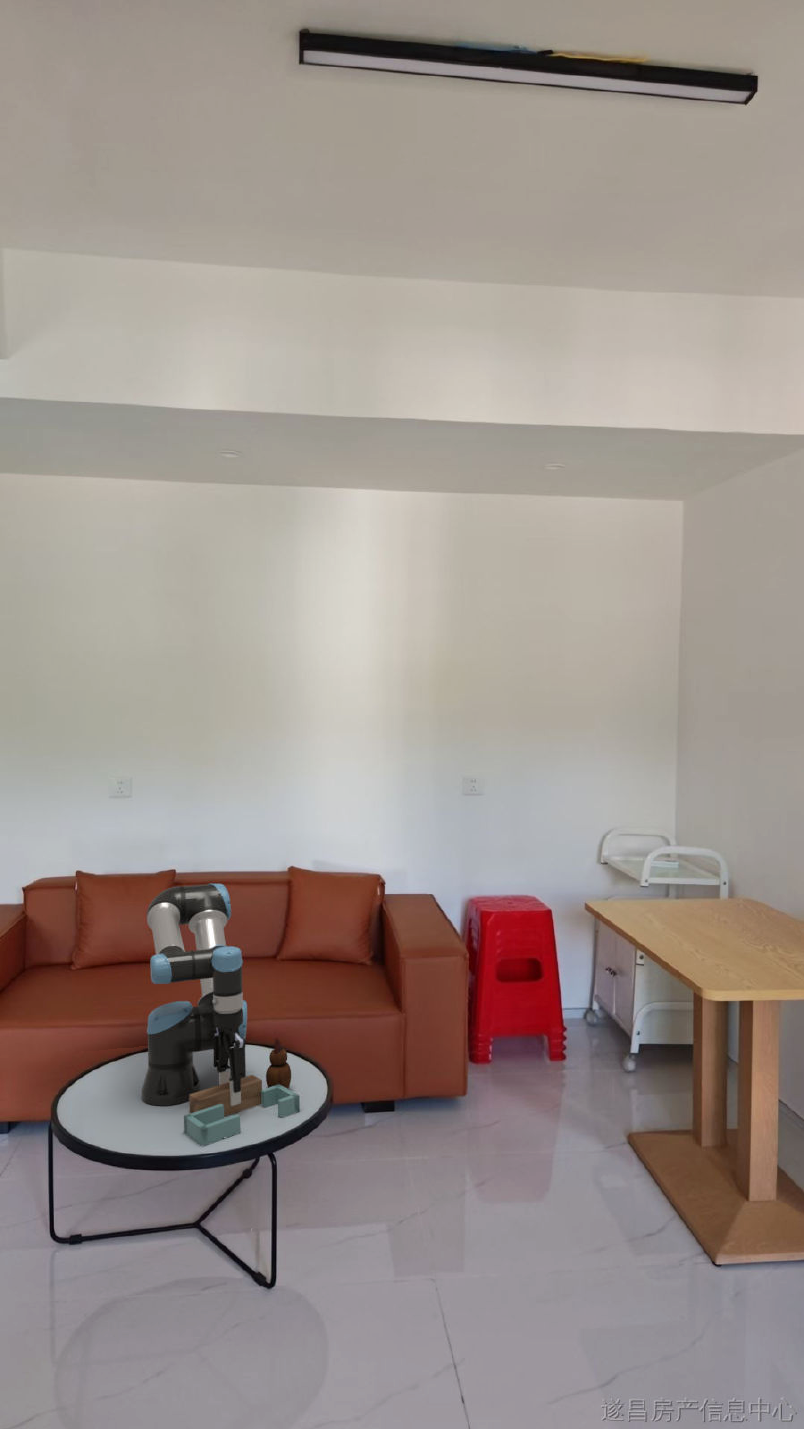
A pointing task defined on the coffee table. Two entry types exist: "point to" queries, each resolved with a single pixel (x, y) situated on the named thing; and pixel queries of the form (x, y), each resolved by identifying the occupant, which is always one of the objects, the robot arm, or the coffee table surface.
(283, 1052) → the wooden figurine
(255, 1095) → the slat
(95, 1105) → the coffee table surface
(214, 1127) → the endcaps
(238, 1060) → the robot arm
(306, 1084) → the coffee table surface
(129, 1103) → the coffee table surface
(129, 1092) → the coffee table surface
